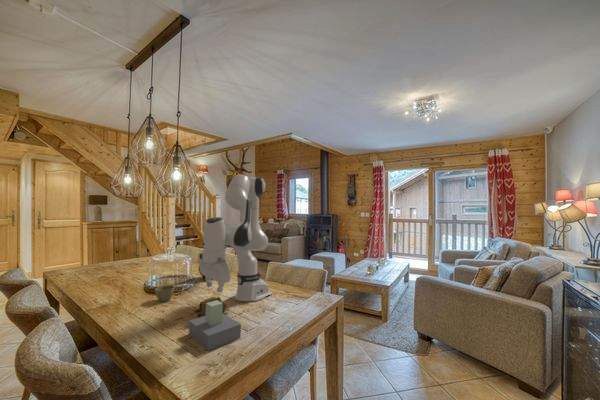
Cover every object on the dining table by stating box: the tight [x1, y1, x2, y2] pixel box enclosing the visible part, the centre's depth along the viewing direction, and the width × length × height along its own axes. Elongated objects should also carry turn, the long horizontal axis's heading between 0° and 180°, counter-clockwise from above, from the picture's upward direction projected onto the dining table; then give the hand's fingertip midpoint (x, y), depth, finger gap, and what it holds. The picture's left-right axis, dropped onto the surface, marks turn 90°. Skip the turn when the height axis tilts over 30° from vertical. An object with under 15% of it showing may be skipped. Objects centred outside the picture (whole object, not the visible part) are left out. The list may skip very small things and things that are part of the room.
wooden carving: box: [193, 296, 228, 318], centre depth 128 cm, size 16×5×10 cm, turn 141°
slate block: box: [188, 313, 242, 351], centre depth 111 cm, size 14×18×6 cm
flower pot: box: [154, 284, 176, 303], centre depth 150 cm, size 10×10×7 cm
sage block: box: [206, 300, 224, 326], centre depth 111 cm, size 5×5×8 cm
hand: (214, 289), depth 111 cm, fingers open, 8 cm apart
